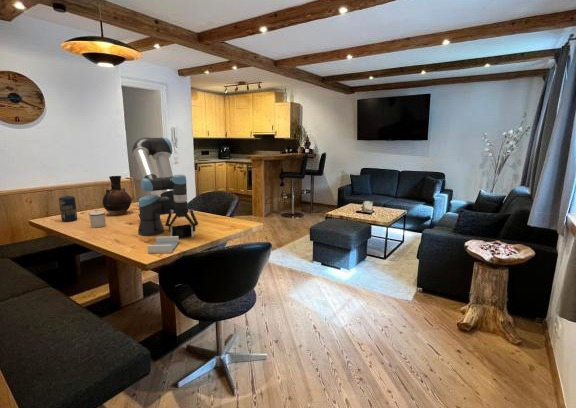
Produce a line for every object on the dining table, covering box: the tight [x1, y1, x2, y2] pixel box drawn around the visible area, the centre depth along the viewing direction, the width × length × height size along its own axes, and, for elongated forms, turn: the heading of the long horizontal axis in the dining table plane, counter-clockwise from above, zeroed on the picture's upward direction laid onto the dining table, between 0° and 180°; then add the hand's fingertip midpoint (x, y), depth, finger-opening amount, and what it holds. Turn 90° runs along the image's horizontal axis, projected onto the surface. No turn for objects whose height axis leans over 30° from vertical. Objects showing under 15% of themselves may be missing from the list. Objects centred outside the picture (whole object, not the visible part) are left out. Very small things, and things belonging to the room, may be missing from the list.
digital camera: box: [172, 223, 192, 240], centre depth 190 cm, size 10×5×7 cm, turn 125°
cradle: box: [146, 235, 180, 254], centre depth 172 cm, size 12×16×4 cm
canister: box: [58, 195, 78, 222], centre depth 225 cm, size 10×10×18 cm
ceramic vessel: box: [102, 175, 132, 216], centre depth 244 cm, size 21×18×30 cm
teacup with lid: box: [88, 208, 107, 229], centre depth 212 cm, size 12×9×12 cm
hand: (182, 236), depth 190 cm, fingers closed on digital camera, 11 cm apart
